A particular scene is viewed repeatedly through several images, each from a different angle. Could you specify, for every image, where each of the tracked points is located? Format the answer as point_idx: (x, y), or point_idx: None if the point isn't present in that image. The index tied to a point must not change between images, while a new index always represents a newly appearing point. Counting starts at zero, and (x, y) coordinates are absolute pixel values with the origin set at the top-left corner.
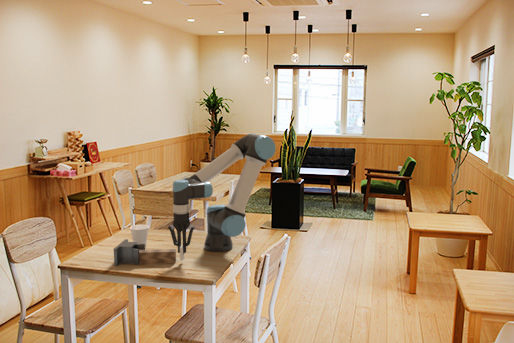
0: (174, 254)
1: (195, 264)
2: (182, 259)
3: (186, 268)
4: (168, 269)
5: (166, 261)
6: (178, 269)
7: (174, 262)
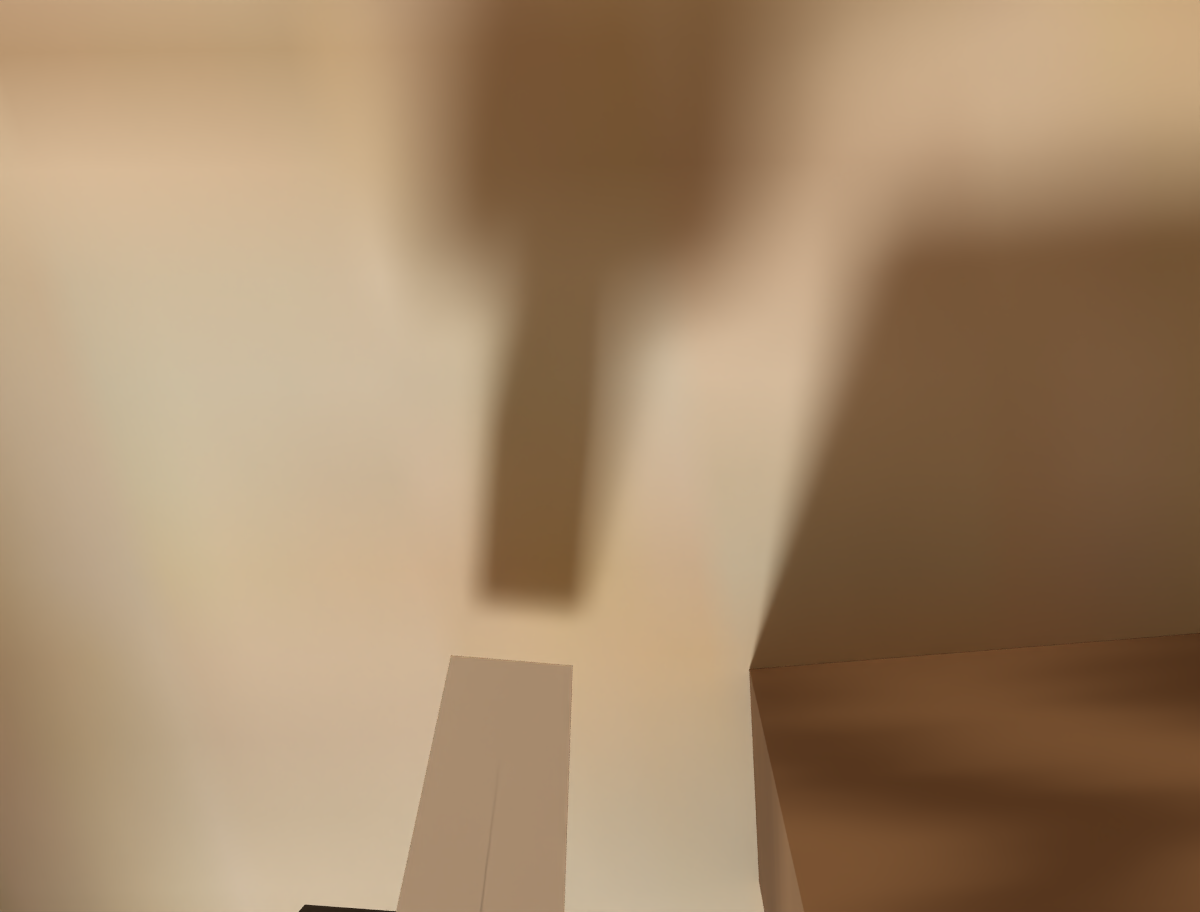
0: (837, 896)
1: (21, 551)
2: (470, 676)
3: (231, 136)
4: (956, 4)
5: (1079, 681)
6: (535, 10)
7: (786, 676)
